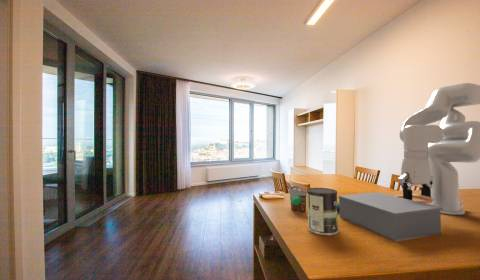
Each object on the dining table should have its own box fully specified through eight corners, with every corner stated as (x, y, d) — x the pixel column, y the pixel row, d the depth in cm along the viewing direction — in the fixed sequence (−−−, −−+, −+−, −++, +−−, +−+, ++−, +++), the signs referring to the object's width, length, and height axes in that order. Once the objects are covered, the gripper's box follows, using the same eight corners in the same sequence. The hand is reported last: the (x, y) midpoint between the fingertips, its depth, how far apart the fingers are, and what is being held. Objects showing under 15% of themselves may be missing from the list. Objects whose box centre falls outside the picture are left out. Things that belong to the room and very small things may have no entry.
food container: (285, 206, 106) (285, 186, 106) (297, 205, 107) (297, 185, 107) (293, 214, 94) (293, 191, 94) (307, 213, 94) (306, 190, 95)
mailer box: (377, 212, 94) (377, 194, 94) (441, 234, 71) (440, 210, 71) (339, 217, 89) (339, 198, 89) (395, 242, 66) (394, 216, 66)
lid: (390, 192, 97) (389, 188, 97) (457, 207, 73) (457, 202, 73) (338, 197, 90) (338, 192, 90) (395, 216, 66) (394, 209, 66)
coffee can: (337, 226, 79) (336, 188, 80) (339, 237, 70) (338, 194, 70) (308, 223, 83) (307, 186, 83) (306, 233, 73) (305, 192, 74)
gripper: (421, 155, 91) (422, 195, 90) (390, 155, 87) (391, 197, 86) (442, 155, 84) (443, 199, 83) (409, 156, 79) (410, 202, 79)
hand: (417, 198), depth 85 cm, fingers open, 9 cm apart
